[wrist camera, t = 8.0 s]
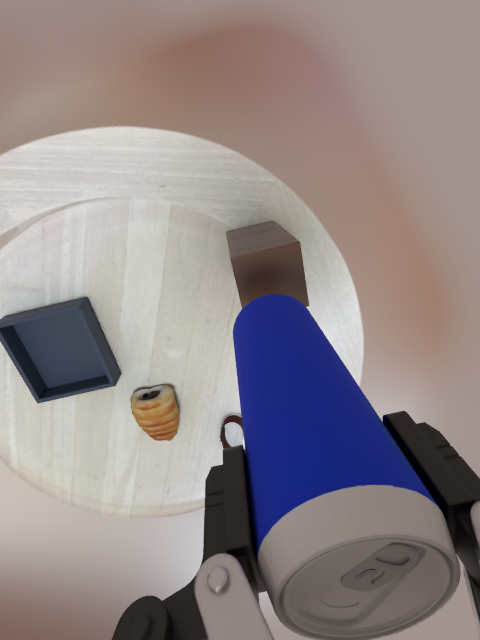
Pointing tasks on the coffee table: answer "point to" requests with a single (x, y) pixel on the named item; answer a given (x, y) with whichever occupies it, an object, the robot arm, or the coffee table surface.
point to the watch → (222, 436)
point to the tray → (59, 350)
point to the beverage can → (331, 489)
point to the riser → (267, 262)
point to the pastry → (156, 412)
